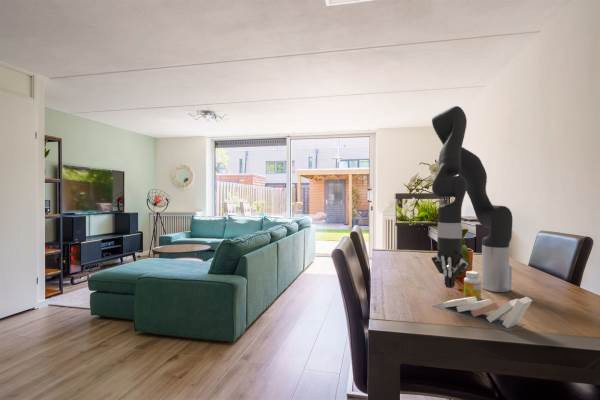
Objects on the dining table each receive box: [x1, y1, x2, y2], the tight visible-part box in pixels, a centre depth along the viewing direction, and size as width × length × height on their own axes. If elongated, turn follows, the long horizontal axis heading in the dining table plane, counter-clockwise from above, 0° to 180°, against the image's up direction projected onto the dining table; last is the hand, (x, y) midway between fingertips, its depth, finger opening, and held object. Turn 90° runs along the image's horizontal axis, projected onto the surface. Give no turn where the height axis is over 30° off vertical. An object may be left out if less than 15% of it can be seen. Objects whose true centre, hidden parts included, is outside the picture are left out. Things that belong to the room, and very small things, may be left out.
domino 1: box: [442, 296, 479, 308], centre depth 105 cm, size 2×5×9 cm
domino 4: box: [486, 297, 519, 323], centre depth 93 cm, size 2×5×9 cm
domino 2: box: [456, 298, 493, 312], centre depth 101 cm, size 2×5×9 cm
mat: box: [432, 302, 526, 332], centre depth 101 cm, size 24×9×1 cm, turn 31°
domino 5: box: [503, 296, 533, 328], centre depth 90 cm, size 2×5×9 cm, turn 122°
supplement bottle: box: [463, 270, 482, 301], centre depth 116 cm, size 5×5×10 cm
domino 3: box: [471, 299, 508, 317], centre depth 97 cm, size 2×5×9 cm
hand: (449, 287), depth 108 cm, fingers closed
